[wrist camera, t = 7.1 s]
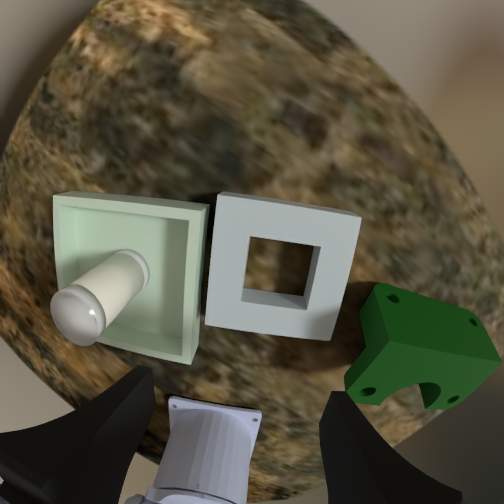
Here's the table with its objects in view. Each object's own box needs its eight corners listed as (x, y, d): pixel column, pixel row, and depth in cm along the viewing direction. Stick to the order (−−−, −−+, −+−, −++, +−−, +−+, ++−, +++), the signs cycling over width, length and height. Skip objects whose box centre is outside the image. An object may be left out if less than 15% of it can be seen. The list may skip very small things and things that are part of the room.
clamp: (349, 315, 25) (314, 387, 17) (382, 259, 21) (361, 325, 14) (452, 372, 21) (449, 452, 14) (493, 326, 18) (509, 406, 11)
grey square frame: (325, 325, 20) (330, 341, 18) (210, 309, 20) (204, 324, 18) (352, 211, 18) (361, 217, 16) (223, 191, 18) (217, 194, 16)
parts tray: (198, 344, 21) (190, 364, 19) (80, 316, 21) (65, 331, 19) (210, 204, 18) (201, 210, 16) (74, 190, 18) (53, 195, 16)
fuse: (149, 295, 19) (102, 352, 13) (110, 287, 20) (55, 336, 13) (150, 252, 19) (95, 298, 12) (109, 245, 19) (46, 284, 12)
